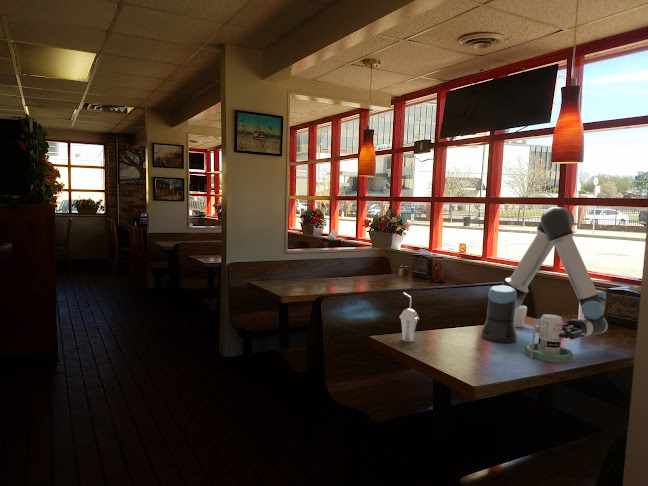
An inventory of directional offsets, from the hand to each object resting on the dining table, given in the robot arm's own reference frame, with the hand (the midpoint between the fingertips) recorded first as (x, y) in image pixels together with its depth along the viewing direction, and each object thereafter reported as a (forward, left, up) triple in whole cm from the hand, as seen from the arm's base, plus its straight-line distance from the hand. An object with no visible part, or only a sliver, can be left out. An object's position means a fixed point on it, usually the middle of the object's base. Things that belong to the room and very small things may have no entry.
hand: (542, 332), depth 189 cm
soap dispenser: (+18, +83, -10) cm, 85 cm away
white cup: (-13, +47, -10) cm, 50 cm away
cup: (+3, +4, -10) cm, 11 cm away
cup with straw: (-52, -11, -10) cm, 54 cm away
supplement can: (+3, +4, -9) cm, 10 cm away
